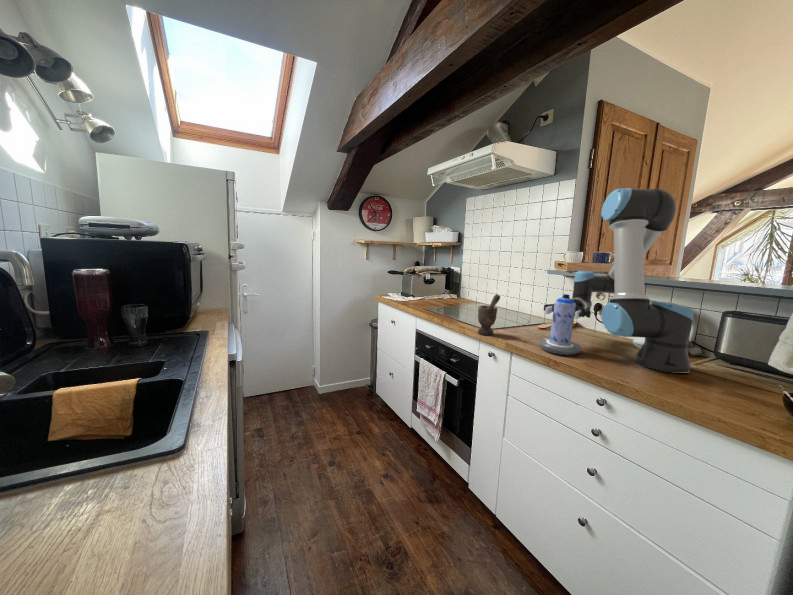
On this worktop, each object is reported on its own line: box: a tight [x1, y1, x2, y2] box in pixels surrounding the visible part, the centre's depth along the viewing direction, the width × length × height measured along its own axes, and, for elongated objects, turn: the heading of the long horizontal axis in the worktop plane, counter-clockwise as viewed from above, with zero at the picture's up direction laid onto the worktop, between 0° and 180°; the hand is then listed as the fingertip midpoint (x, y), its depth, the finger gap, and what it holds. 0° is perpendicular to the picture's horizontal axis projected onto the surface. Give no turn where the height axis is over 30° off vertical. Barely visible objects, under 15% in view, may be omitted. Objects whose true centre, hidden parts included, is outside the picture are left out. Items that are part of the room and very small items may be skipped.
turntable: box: [538, 337, 582, 354], centre depth 124 cm, size 15×15×2 cm
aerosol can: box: [549, 293, 576, 346], centre depth 123 cm, size 8×8×20 cm
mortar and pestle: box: [476, 294, 501, 336], centre depth 144 cm, size 12×9×20 cm
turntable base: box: [542, 347, 577, 357], centre depth 125 cm, size 12×12×1 cm
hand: (560, 313), depth 119 cm, fingers open, 10 cm apart
